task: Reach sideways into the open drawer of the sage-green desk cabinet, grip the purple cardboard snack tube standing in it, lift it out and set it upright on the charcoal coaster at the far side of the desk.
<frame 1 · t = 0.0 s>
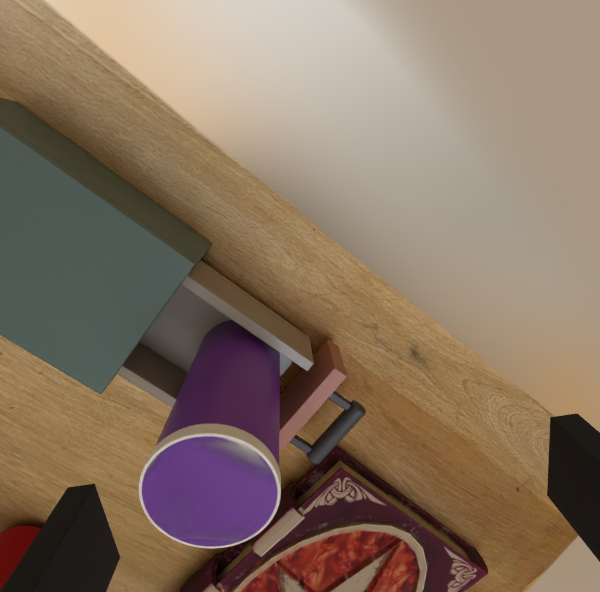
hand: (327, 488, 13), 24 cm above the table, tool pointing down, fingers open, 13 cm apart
cabinet: (80, 237, 33), on the table
snack tube: (239, 357, 35), point 2 cm above the table, touching drawer
drawer: (244, 369, 33), point 4 cm above the table, slide at 12.0 cm, touching snack tube
book: (311, 582, 45), on the table
beverage can: (35, 544, 42), on the table
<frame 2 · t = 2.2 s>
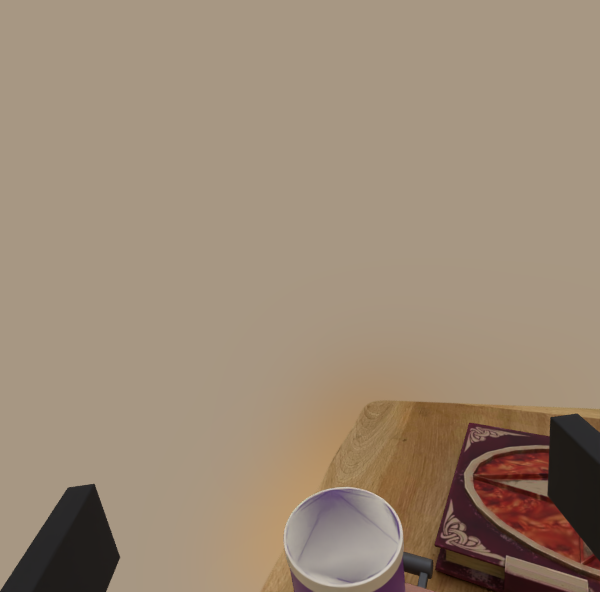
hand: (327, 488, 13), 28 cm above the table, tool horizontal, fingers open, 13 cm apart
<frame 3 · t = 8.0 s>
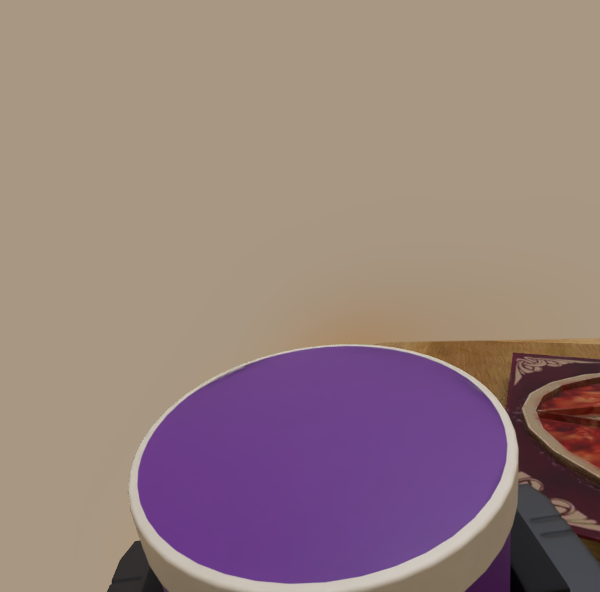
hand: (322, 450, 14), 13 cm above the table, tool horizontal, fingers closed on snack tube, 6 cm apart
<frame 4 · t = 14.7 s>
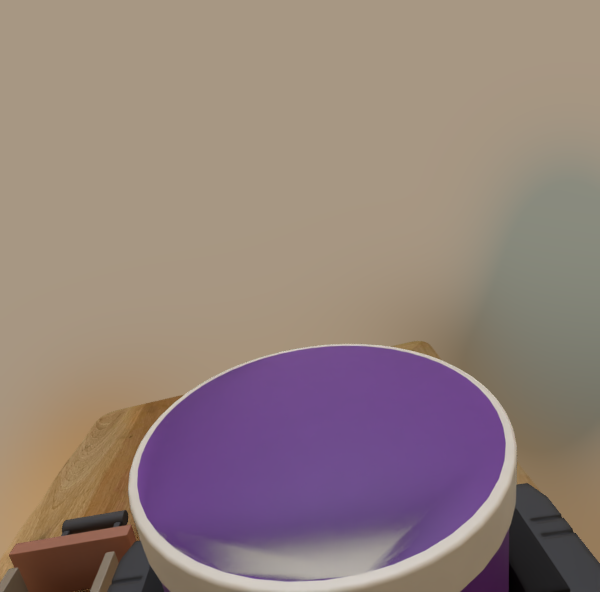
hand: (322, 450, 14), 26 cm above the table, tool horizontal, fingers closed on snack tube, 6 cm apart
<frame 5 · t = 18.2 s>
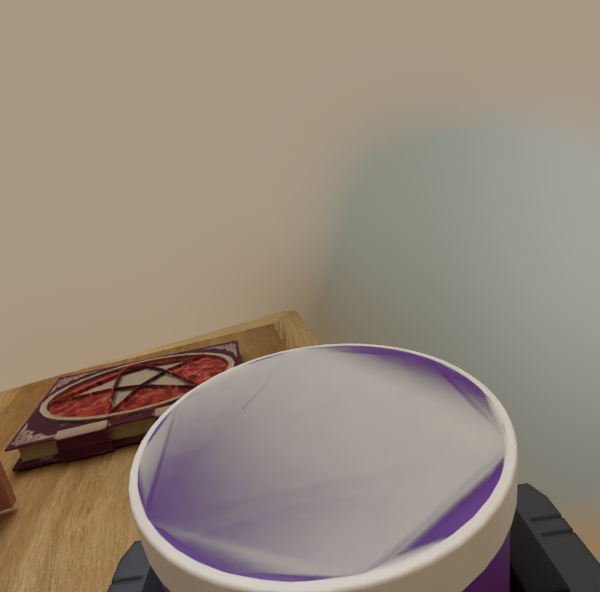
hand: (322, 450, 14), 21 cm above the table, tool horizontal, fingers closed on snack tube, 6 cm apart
book: (148, 404, 62), on the table
when the fingers open (11 cm above the table, at t = 21.2 s): snack tube stays where it is, resting on coaster.
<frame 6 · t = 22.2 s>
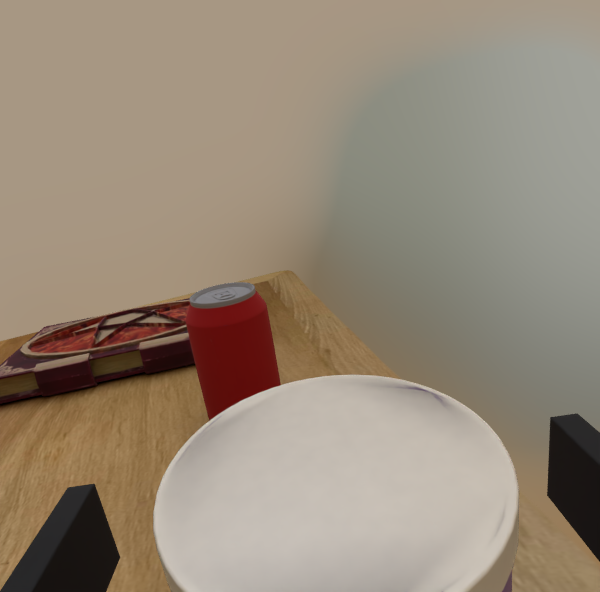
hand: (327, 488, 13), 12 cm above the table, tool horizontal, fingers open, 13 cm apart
book: (135, 348, 60), on the table
beverage can: (248, 420, 39), on the table
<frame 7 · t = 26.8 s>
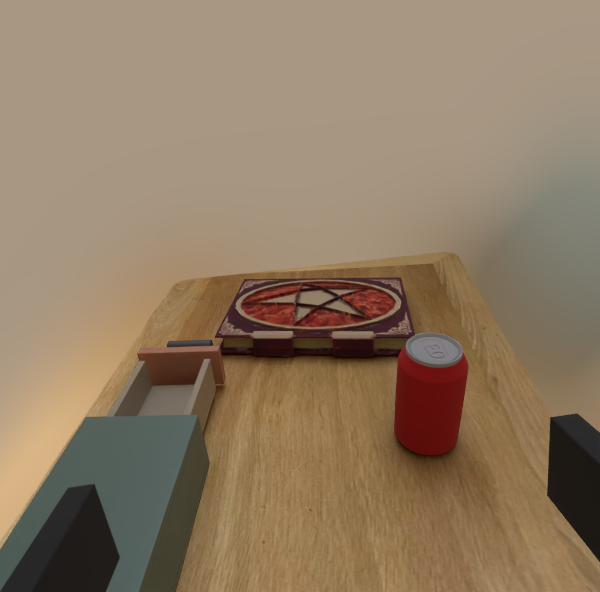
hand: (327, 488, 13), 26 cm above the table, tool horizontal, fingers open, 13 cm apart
cabinet: (127, 538, 40), on the table
drawer: (171, 392, 52), point 4 cm above the table, slide at 12.0 cm
book: (318, 321, 71), on the table
beverage can: (424, 437, 48), on the table
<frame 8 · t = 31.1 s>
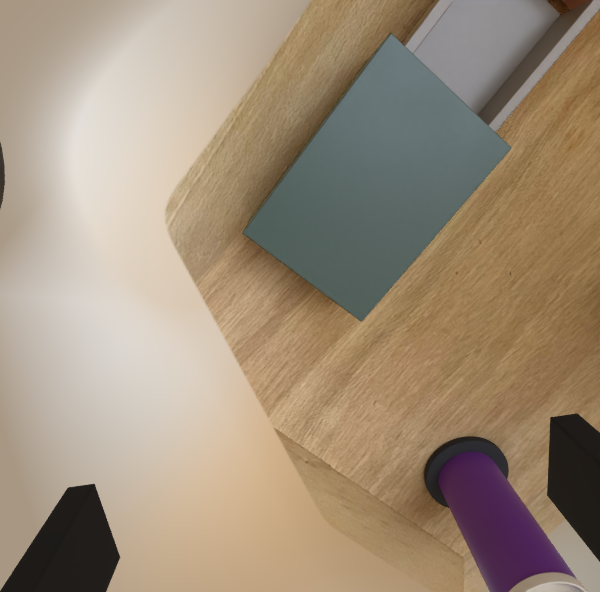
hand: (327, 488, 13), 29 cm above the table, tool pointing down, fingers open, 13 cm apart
cabinet: (358, 185, 38), on the table
snack tube: (467, 476, 47), point 1 cm above the table, touching coaster
drawer: (507, 9, 31), point 4 cm above the table, slide at 12.0 cm
coaster: (464, 471, 48), on the table
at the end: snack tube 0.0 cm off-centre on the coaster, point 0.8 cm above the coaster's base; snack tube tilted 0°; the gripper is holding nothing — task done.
